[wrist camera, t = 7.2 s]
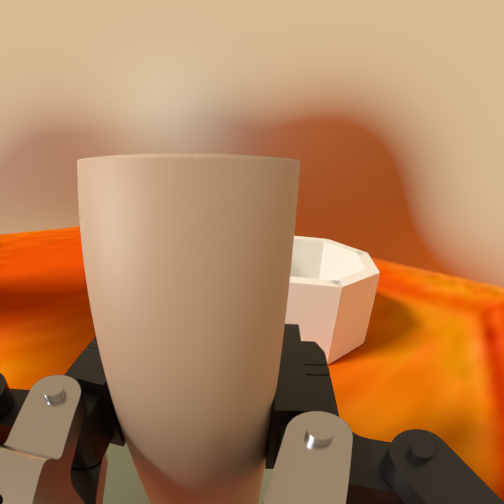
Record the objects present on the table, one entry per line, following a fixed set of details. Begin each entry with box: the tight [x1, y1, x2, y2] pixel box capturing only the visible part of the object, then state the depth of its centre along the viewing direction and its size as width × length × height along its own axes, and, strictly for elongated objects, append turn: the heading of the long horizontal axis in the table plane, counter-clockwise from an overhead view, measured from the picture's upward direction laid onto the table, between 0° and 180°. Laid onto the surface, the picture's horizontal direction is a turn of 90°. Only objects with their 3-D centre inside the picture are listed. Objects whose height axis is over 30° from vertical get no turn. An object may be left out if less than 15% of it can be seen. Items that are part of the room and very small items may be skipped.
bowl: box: [285, 236, 380, 365], centre depth 25 cm, size 11×11×6 cm
